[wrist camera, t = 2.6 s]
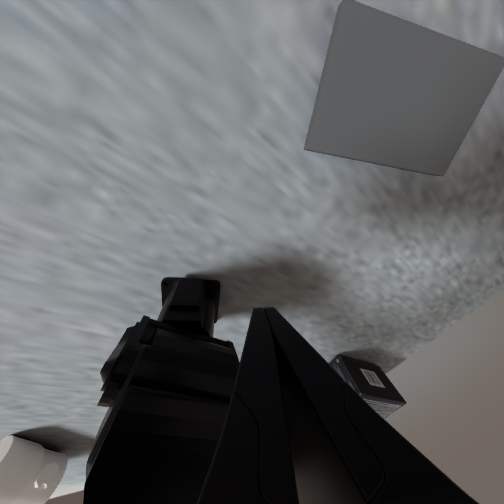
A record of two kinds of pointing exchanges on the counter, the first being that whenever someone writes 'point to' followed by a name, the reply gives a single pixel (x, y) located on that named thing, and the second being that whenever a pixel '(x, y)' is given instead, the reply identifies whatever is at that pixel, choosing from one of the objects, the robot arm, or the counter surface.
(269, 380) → the robot arm
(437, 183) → the counter surface
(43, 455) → the white cylinder
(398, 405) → the small box
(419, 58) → the mat
